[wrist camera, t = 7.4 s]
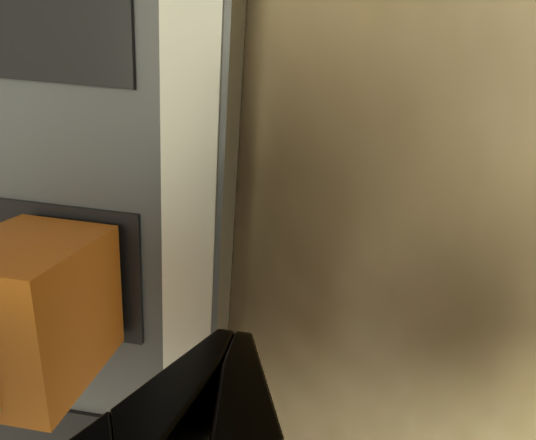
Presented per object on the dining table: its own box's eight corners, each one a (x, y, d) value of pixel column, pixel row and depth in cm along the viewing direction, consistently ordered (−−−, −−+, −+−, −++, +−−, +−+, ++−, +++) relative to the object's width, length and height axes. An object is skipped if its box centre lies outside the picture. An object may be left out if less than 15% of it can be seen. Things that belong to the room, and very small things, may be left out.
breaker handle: (118, 225, 10) (24, 284, 7) (124, 340, 12) (47, 437, 8) (22, 214, 11) (-113, 265, 7) (38, 327, 12) (-71, 417, 9)
